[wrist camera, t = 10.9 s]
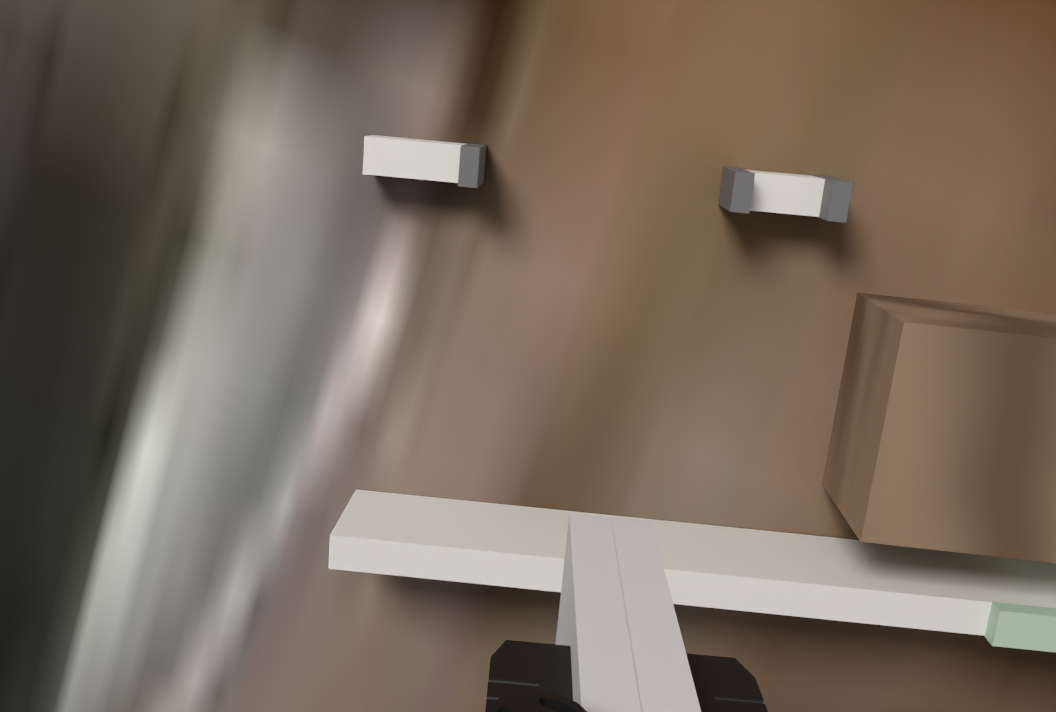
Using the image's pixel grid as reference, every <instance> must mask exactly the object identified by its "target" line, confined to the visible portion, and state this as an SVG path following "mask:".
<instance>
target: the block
mask: <svg viewBox="0 0 1056 712" xmlns="http://www.w3.org/2000/svg"><path fill="white" fill-rule="evenodd" d="M822 485H823V487H824V488H825V490H826V491H827V493H828V494H829V496H830V497H831V499H832V500H833V502H834V503H835V505H836V506H837V507H838V509H839V510H840V512H841V513H842V515H843V516H844V518H845V519H846V521H847V522H848V524H849V525H850V527H851V528H852V530H853V531H854V533H855V534H856V536H857V537H858V539H859V540H860V542H867V543H876V544H885V545H894V546H903V547H912V548H921V549H930V550H940V551H949V552H958V553H967V554H976V555H985V556H994V557H1003V558H1012V559H1021V560H1030V561H1040V562H1049V563H1056V314H1053V313H1043V312H1034V311H1024V310H1015V309H1005V308H996V307H987V306H977V305H968V304H958V303H949V302H939V301H930V300H921V299H911V298H902V297H892V296H883V295H873V294H864V293H857V298H856V304H855V309H854V315H853V320H852V325H851V331H850V336H849V342H848V347H847V352H846V358H845V363H844V369H843V374H842V380H841V385H840V390H839V396H838V401H837V407H836V412H835V418H834V423H833V428H832V434H831V439H830V445H829V450H828V455H827V461H826V466H825V472H824V477H823V483H822Z"/></svg>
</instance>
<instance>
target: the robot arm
mask: <svg viewBox="0 0 1056 712" xmlns="http://www.w3.org/2000/svg"><path fill="white" fill-rule="evenodd" d="M486 712H768V711H767V708H766V706H765V704H763V698H762V695H761V692H760V690H759V687H758V684H757V681H756V679H755V677H754V676H753V675H752V674H751V673H750V672H749V671H747V670H746V669H745V668H744V667H743V666H742V665H741V664H740V663H739V662H738V661H737V660H736V659H735V658H728V657H717V656H706V655H694V654H686V651H685V647H684V643H683V639H682V636H681V632H680V628H679V624H678V620H677V616H676V613H675V609H674V605H673V601H672V597H671V593H670V589H669V586H668V582H667V578H666V574H665V570H664V566H663V563H662V559H661V555H660V551H659V547H658V543H657V539H656V536H655V532H654V528H653V524H652V521H648V520H637V519H626V518H615V517H604V516H593V515H582V514H570V513H569V522H568V531H567V541H566V550H565V559H564V569H563V578H562V588H561V597H560V606H559V616H558V625H557V634H556V644H543V643H532V642H521V641H510V640H506V641H505V642H504V643H503V644H502V645H501V646H500V648H499V649H498V650H497V651H496V652H495V653H494V654H493V655H492V656H491V661H490V671H489V681H488V691H487V701H486Z"/></svg>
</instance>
